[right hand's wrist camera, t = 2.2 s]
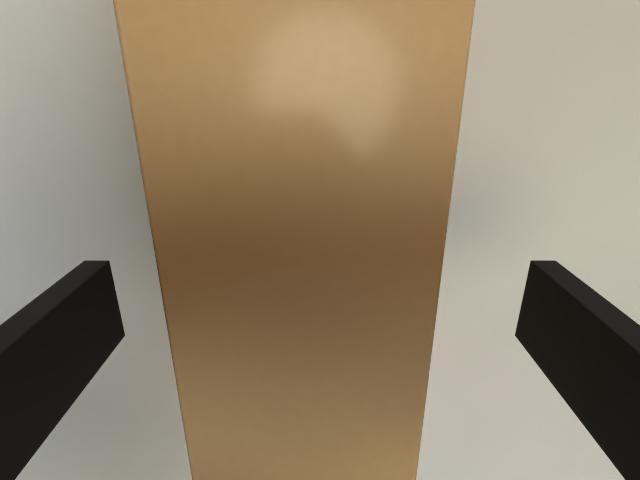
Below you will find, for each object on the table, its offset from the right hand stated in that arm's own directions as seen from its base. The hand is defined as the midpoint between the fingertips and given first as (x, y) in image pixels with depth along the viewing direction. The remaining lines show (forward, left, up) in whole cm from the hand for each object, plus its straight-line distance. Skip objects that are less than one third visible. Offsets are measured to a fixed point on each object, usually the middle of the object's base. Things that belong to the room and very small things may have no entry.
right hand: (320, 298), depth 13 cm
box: (0, +9, -8) cm, 12 cm away
